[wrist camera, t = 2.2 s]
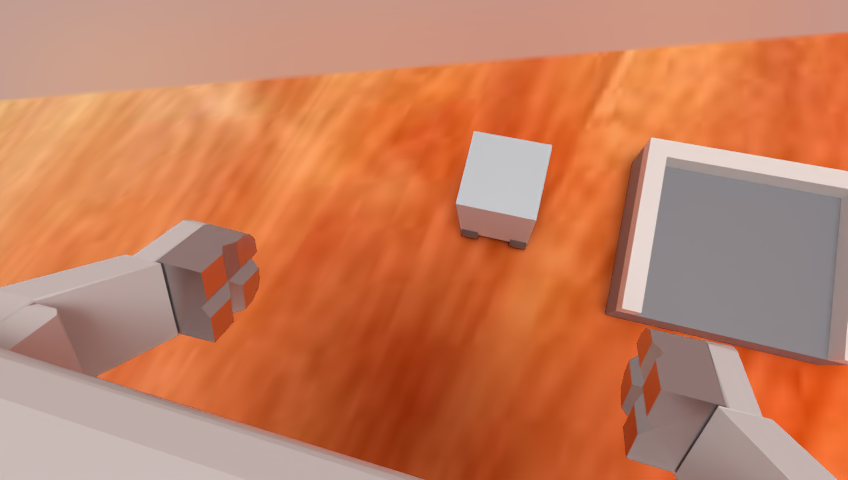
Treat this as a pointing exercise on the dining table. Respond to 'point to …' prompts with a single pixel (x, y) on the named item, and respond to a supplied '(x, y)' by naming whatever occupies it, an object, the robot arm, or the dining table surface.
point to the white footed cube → (502, 188)
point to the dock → (736, 251)
